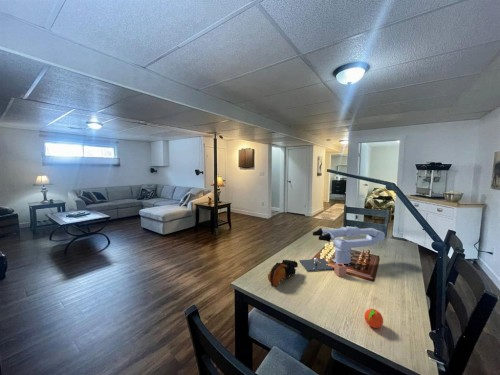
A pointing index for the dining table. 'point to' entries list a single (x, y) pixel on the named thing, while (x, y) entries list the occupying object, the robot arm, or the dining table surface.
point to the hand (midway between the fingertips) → (315, 236)
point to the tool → (282, 271)
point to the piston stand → (315, 265)
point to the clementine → (373, 318)
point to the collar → (340, 269)
